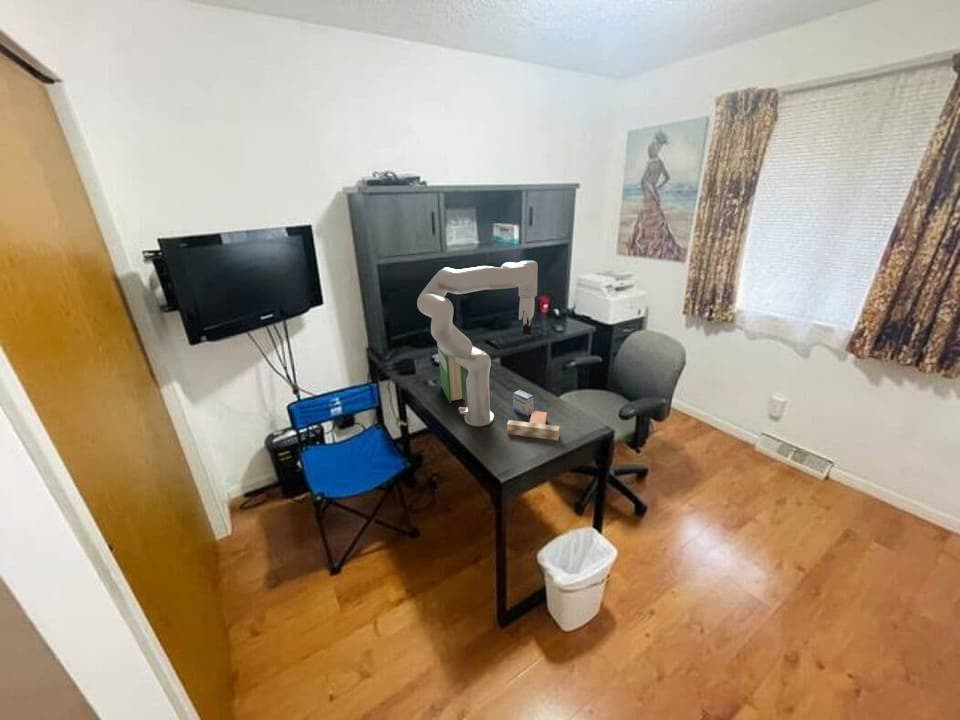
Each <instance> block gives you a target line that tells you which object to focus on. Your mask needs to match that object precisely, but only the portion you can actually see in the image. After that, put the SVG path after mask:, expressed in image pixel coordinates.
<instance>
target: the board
mask: <svg viewBox="0 0 960 720" xmlns="http://www.w3.org/2000/svg"><path fill="white" fill-rule="evenodd" d="M529 422H530V421H529ZM529 422H528V421H521V420H520V421H519V420H512V419H508V421H507V423H506V429H507V430H506V431H507V432H506V434H507V435H516V436H522V437H529V438H537V439H544V440H550V441H551V440H552V441H559V438H560V427H561V426H559V425H551V424H546V425H545V424H537V423H529Z"/></svg>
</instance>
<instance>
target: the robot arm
mask: <svg viewBox="0 0 960 720" xmlns="http://www.w3.org/2000/svg"><path fill="white" fill-rule="evenodd" d="M538 270H539V269H538V263H537V261H535V260H531V259H530V260H522V261H519V262H518V261H513V262H512V261H511V262H510V261H509V262H505V263H503V264H502V265H501V266H500V267H499V266H498V267H497V266H490V265H489V266H488V265H481V266H476V267H468V268H462V269H460V268H459V269H455V268H451V267H443V268H442V269H440V270H438V272H437V273H436V274H435V275H434V276H433V277H432V278H431V280H430V281H429V282H428V283H427V285H426V286H425V288H423V290H422V291H421V293H419V296H418V297H417V301H416V304H417V305H416V306H417V309H418V311H419V312H420V313H422V314H423V315H425V316H427V317H429V318H431V322H430V333H431V336H432V338H433V339H434V340H435V341H436V344H437V348H438V347H439V349H440V350H441V351H442V352H443V353H445V354H446V355H447V356H448V357H450V358H451V359H452V360H453V361H454V362H456V363H457V364H459V365H460V366H462V367H463V369H465V370H467V376H466V379H465V389H466V392H465V393H466V407H465V406H459V407H458V411H459V415H464V416H463V417H464V421H465V423H466V424H467V425H469V426H472V427H484V426H488V425H490V424H491V423H493V421H494V419H495V415H494V413H493V412H492V411H491V402H490V401H491V400H490V398H491V397H490V396H491V395H490V370H491V365H492V360H491V357H490V355H489V354H488V353H487V352H486V351H485V350H482V349H480V348H478V347H476V346H474V345H473V343H472V341H471V340H470V338H469V337H468V336H466V335H465V334H464V333H463V332H461V331H460V330H459V329H458V328H457V326H455V324H454V323H453V317H454V312H455V311H454V305H453V303H452V301H451V300H450V299H449V298H447V297H445V296H447V293H450V294H453V295H463V294H468V293H473V292H479V291H484V290H500V289H515V288H518V297H519V308H518V320H519V321H521V320H522V321H523V323H522V325H523V326H522V329H523V330H522V334H523V335H527V336H528V335H529V336H531V334H532V318H533V317H534V315H535V298H536V297H537V296H538Z"/></svg>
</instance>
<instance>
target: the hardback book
mask: <svg viewBox="0 0 960 720" xmlns="http://www.w3.org/2000/svg"><path fill="white" fill-rule="evenodd" d="M437 352H438V355H437V356H438V363H439V374H440V375H439V376H440V386H441V389H442V390H443V393H444V395H445V396H446V399H447V401H448V403H449V404H452V403H453V402H452V401H457V400H463V401H466V392H465V380H464V379H465V378H464V377H465V376H464V367H462V366H460V365H459V364H457V363H456V362H454V361H453V360H452V359H451V358H450V357H448V356H447V355H446V354H445V353H443V352H442V351H441V350H440V349H439V347H438V346H437Z"/></svg>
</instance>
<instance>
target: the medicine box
mask: <svg viewBox="0 0 960 720" xmlns="http://www.w3.org/2000/svg"><path fill="white" fill-rule="evenodd" d="M512 400H513V401H512V402H513V403H512V410H513V411H515V412H517V413H518V414H521V415H523V416H526V417H528V416H530V415H531V414H532V411H534V395H533V394H531V393H527V392H526V391H523V390H521V389H518V390H517V391H514V392H513V394H512Z"/></svg>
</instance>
